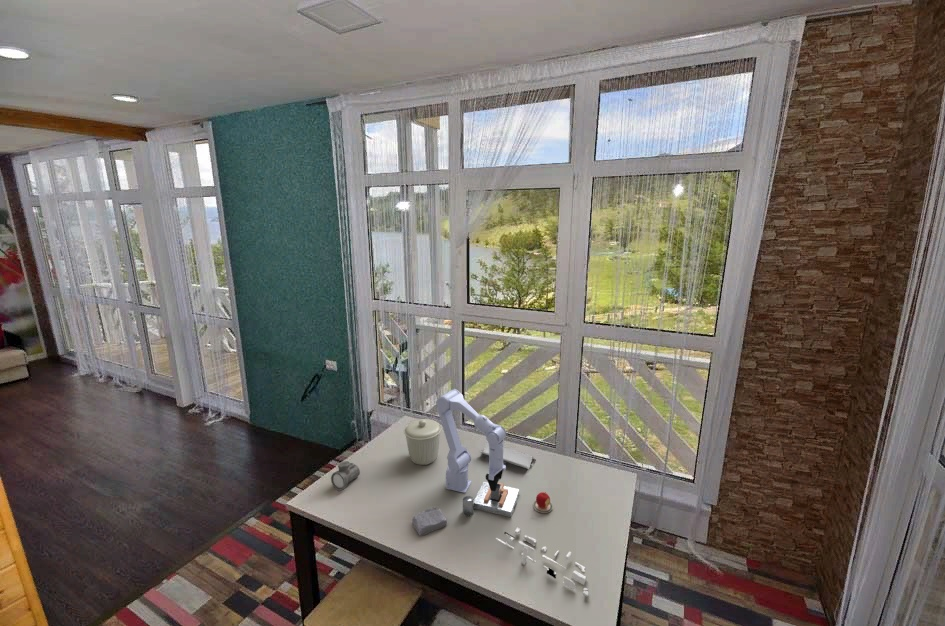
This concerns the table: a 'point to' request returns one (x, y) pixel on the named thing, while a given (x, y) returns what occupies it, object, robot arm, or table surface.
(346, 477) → the pipe fitting
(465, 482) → the robot arm
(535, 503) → the red apple on plate
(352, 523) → the table surface
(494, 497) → the grey rectangular box
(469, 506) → the stub post
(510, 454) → the z bracket
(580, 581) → the miniature set
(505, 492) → the bracket
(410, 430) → the canister
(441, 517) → the stone block
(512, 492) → the silver base plate
